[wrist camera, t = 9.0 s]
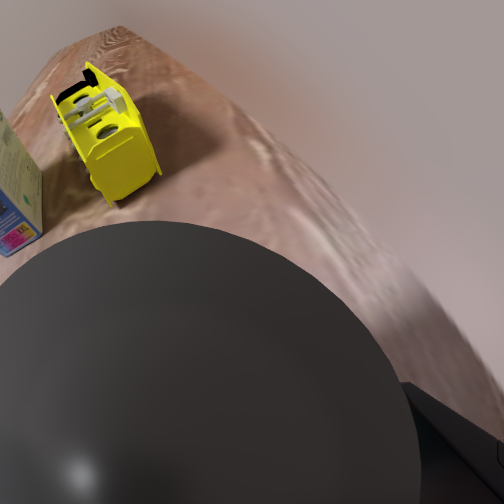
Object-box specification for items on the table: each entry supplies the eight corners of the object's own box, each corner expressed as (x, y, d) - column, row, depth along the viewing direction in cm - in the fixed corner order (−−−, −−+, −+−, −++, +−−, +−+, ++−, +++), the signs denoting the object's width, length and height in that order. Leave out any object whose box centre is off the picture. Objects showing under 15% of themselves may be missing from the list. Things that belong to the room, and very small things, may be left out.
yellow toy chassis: (169, 178, 25) (140, 92, 18) (111, 216, 23) (64, 137, 16) (110, 114, 32) (87, 56, 25) (69, 139, 30) (41, 83, 23)
